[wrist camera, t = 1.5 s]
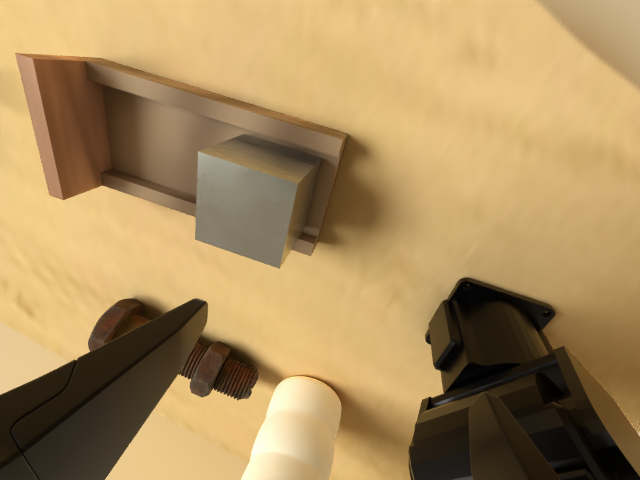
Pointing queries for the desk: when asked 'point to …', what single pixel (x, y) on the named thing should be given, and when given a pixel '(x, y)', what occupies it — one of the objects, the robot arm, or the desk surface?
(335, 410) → the water bottle
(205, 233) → the block
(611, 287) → the desk surface
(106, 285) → the desk surface
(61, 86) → the track
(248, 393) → the bolt
